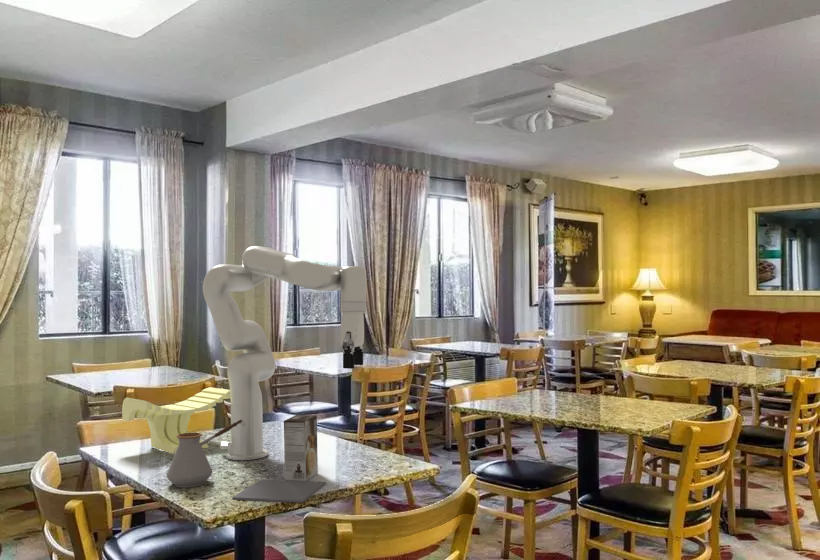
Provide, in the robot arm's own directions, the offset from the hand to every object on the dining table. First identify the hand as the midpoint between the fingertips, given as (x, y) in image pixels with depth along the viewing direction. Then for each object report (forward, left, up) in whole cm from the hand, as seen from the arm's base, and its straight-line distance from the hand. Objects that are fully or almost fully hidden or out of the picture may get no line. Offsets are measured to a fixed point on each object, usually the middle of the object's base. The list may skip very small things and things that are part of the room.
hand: (353, 366), depth 202 cm
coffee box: (-10, -17, -28) cm, 34 cm away
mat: (-10, -31, -28) cm, 43 cm away
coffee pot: (-34, -24, -28) cm, 50 cm away
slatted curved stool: (-65, +13, -28) cm, 72 cm away
